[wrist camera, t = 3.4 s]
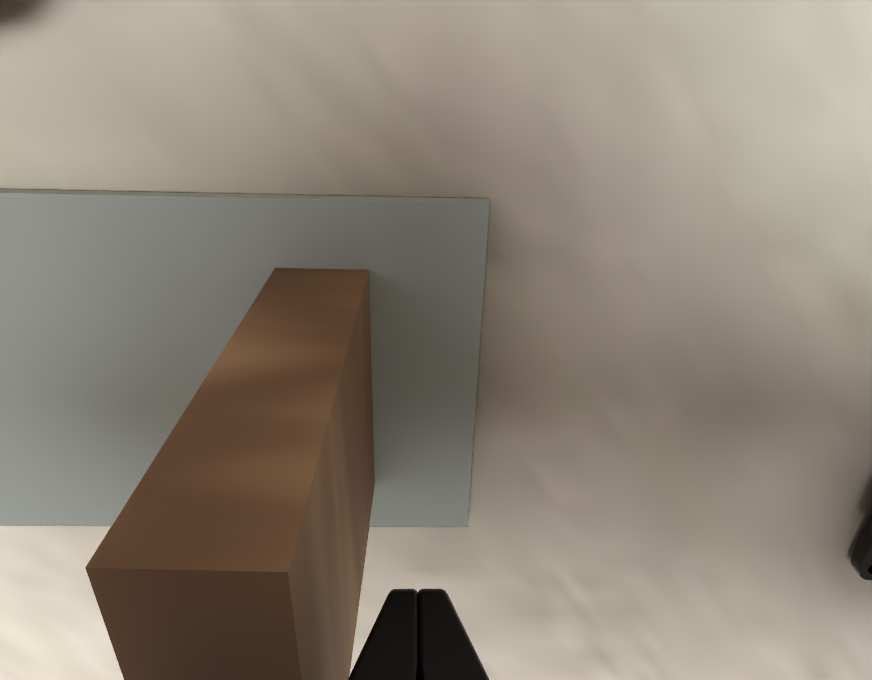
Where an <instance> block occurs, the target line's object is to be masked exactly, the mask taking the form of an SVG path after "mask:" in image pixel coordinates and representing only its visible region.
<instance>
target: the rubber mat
mask: <svg viewBox="0 0 872 680" xmlns="http://www.w3.org/2000/svg"><path fill="white" fill-rule="evenodd" d="M489 208H490V202H489V199H481V198H431V197H381V196H331V195H281V194H231V193H181V192H131V191H81V190H31V189H0V526H112V525H113V523H114V522H115V520H116V519H117V517H118V515H119V514H120V512H121V511H122V509H123V508H124V506H125V504H126V503H127V501H128V500H129V498H130V496H131V495H132V493H133V492H134V490H135V489H136V487H137V485H138V484H139V482H140V481H141V479H142V477H143V476H144V474H145V473H146V471H147V470H148V468H149V466H150V465H151V463H152V462H153V460H154V458H155V457H156V455H157V454H158V452H159V451H160V449H161V447H162V446H163V444H164V443H165V441H166V440H167V438H168V436H169V435H170V433H171V432H172V430H173V428H174V427H175V425H176V424H177V422H178V421H179V419H180V417H181V416H182V414H183V413H184V411H185V409H186V408H187V406H188V405H189V403H190V402H191V400H192V398H193V397H194V395H195V394H196V392H197V390H198V389H199V387H200V386H201V384H202V383H203V381H204V379H205V378H206V376H207V375H208V373H209V371H210V370H211V368H212V367H213V365H214V364H215V362H216V360H217V359H218V357H219V356H220V354H221V352H222V351H223V349H224V348H225V346H226V345H227V343H228V341H229V340H230V338H231V337H232V335H233V333H234V332H235V330H236V329H237V327H238V326H239V324H240V322H241V321H242V319H243V318H244V316H245V314H246V313H247V311H248V310H249V308H250V307H251V305H252V303H253V302H254V300H255V299H256V297H257V296H258V294H259V292H260V291H261V289H262V288H263V286H264V284H265V283H266V281H267V280H268V278H269V277H270V275H271V273H272V272H273V270H274V269H275V268H304V269H342V270H369V296H370V333H371V369H372V406H373V442H374V479H375V487H374V495H373V502H372V509H371V517H370V524H369V527H468V514H469V499H470V484H471V470H472V455H473V441H474V426H475V412H476V397H477V383H478V368H479V354H480V339H481V324H482V310H483V295H484V281H485V266H486V252H487V237H488V223H489Z"/></svg>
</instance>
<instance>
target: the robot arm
mask: <svg viewBox="0 0 872 680" xmlns="http://www.w3.org/2000/svg"><path fill="white" fill-rule="evenodd" d="M851 564H852V566H853V567H854V569H855V570H856V571H857V573H858V574H859V575H860V576H861V577H862V578H863V579H866V580H872V516H871V518H870V520H869V522H868V524H867V526H866V528H865V530H864V532H863V534H862V536H861V539H860V541H859V543H858V545H857V547H856V549H855V551H854V553H853V555H852V557H851ZM348 680H489V678H488V676H487V674H486V672H485V670H484V668H483V666H482V664H481V662H480V660H479V658H478V655H477V653H476V651H475V649H474V647H473V645H472V643H471V641H470V639H469V637H468V635H467V633H466V631H465V629H464V627H463V625H462V623H461V621H460V619H459V617H458V615H457V613H456V610H455V608H454V606H453V604H452V602H451V600H450V598H449V596H448V594H447V593H446V591H445V590H443V589H421V590H419V592H417V591H416V590H415V589H393V590H392V591H391V592H390V593H389V594H388V596H387V598H386V600H385V602H384V605H383V607H382V609H381V611H380V613H379V615H378V617H377V619H376V622H375V624H374V626H373V628H372V630H371V632H370V634H369V636H368V638H367V641H366V643H365V645H364V647H363V649H362V651H361V653H360V655H359V657H358V660H357V662H356V664H355V666H354V668H353V670H352V672H351V674H350V677H349V679H348Z"/></svg>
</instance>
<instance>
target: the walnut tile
mask: <svg viewBox="0 0 872 680" xmlns="http://www.w3.org/2000/svg"><path fill="white" fill-rule="evenodd" d="M374 487H375V479H374V442H373V406H372V369H371V333H370V296H369V270H342V269H304V268H275V269H274V270H273V272H272V273H271V275H270V277H269V278H268V280H267V281H266V283H265V284H264V286H263V288H262V289H261V291H260V292H259V294H258V296H257V297H256V299H255V300H254V302H253V303H252V305H251V307H250V308H249V310H248V311H247V313H246V314H245V316H244V318H243V319H242V321H241V322H240V324H239V326H238V327H237V329H236V330H235V332H234V333H233V335H232V337H231V338H230V340H229V341H228V343H227V345H226V346H225V348H224V349H223V351H222V352H221V354H220V356H219V357H218V359H217V360H216V362H215V364H214V365H213V367H212V368H211V370H210V371H209V373H208V375H207V376H206V378H205V379H204V381H203V383H202V384H201V386H200V387H199V389H198V390H197V392H196V394H195V395H194V397H193V398H192V400H191V402H190V403H189V405H188V406H187V408H186V409H185V411H184V413H183V414H182V416H181V417H180V419H179V421H178V422H177V424H176V425H175V427H174V428H173V430H172V432H171V433H170V435H169V436H168V438H167V440H166V441H165V443H164V444H163V446H162V447H161V449H160V451H159V452H158V454H157V455H156V457H155V458H154V460H153V462H152V463H151V465H150V466H149V468H148V470H147V471H146V473H145V474H144V476H143V477H142V479H141V481H140V482H139V484H138V485H137V487H136V489H135V490H134V492H133V493H132V495H131V496H130V498H129V500H128V501H127V503H126V504H125V506H124V508H123V509H122V511H121V512H120V514H119V515H118V517H117V519H116V520H115V522H114V523H113V525H112V527H111V528H110V530H109V531H108V533H107V534H106V536H105V538H104V539H103V541H102V542H101V544H100V546H99V547H98V549H97V550H96V552H95V553H94V555H93V557H92V558H91V560H90V561H89V563H88V565H87V566H86V571H87V573H88V576H89V579H90V582H91V585H92V588H93V591H94V594H95V597H96V599H97V602H98V605H99V608H100V611H101V614H102V617H103V620H104V623H105V625H106V628H107V631H108V634H109V637H110V640H111V643H112V646H113V648H114V651H115V654H116V657H117V660H118V663H119V666H120V669H121V672H122V674H123V677H124V680H348V679H349V673H350V666H351V658H352V651H353V643H354V636H355V629H356V621H357V614H358V606H359V599H360V591H361V584H362V576H363V569H364V562H365V554H366V547H367V539H368V532H369V524H370V517H371V509H372V502H373V495H374Z"/></svg>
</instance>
